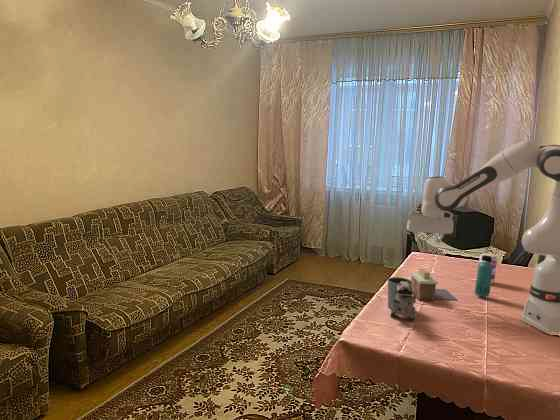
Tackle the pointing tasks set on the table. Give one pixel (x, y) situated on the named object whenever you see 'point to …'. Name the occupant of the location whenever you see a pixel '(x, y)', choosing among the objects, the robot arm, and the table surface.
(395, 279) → the gray embossed pot
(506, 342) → the table surface
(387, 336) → the table surface
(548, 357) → the table surface
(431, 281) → the lid
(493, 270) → the supplement can
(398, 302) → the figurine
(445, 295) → the mat
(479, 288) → the beverage bottle
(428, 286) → the box
